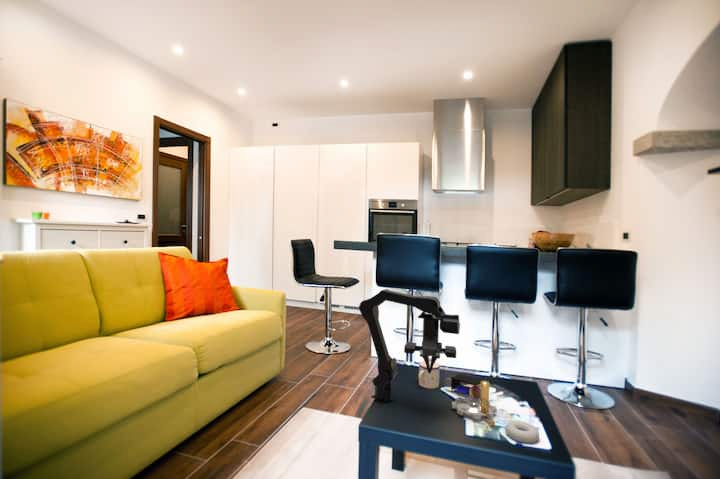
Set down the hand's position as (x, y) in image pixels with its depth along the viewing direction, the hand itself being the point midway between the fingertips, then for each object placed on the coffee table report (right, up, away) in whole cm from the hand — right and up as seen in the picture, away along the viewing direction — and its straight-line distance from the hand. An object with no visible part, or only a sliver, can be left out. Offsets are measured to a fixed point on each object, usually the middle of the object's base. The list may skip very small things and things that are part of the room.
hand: (429, 372), depth 135 cm
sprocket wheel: (+16, -12, -3) cm, 20 cm away
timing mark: (+19, -13, -11) cm, 25 cm away
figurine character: (+17, -14, +14) cm, 26 cm away
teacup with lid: (+3, -14, +21) cm, 26 cm away
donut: (+26, -14, -18) cm, 35 cm away
